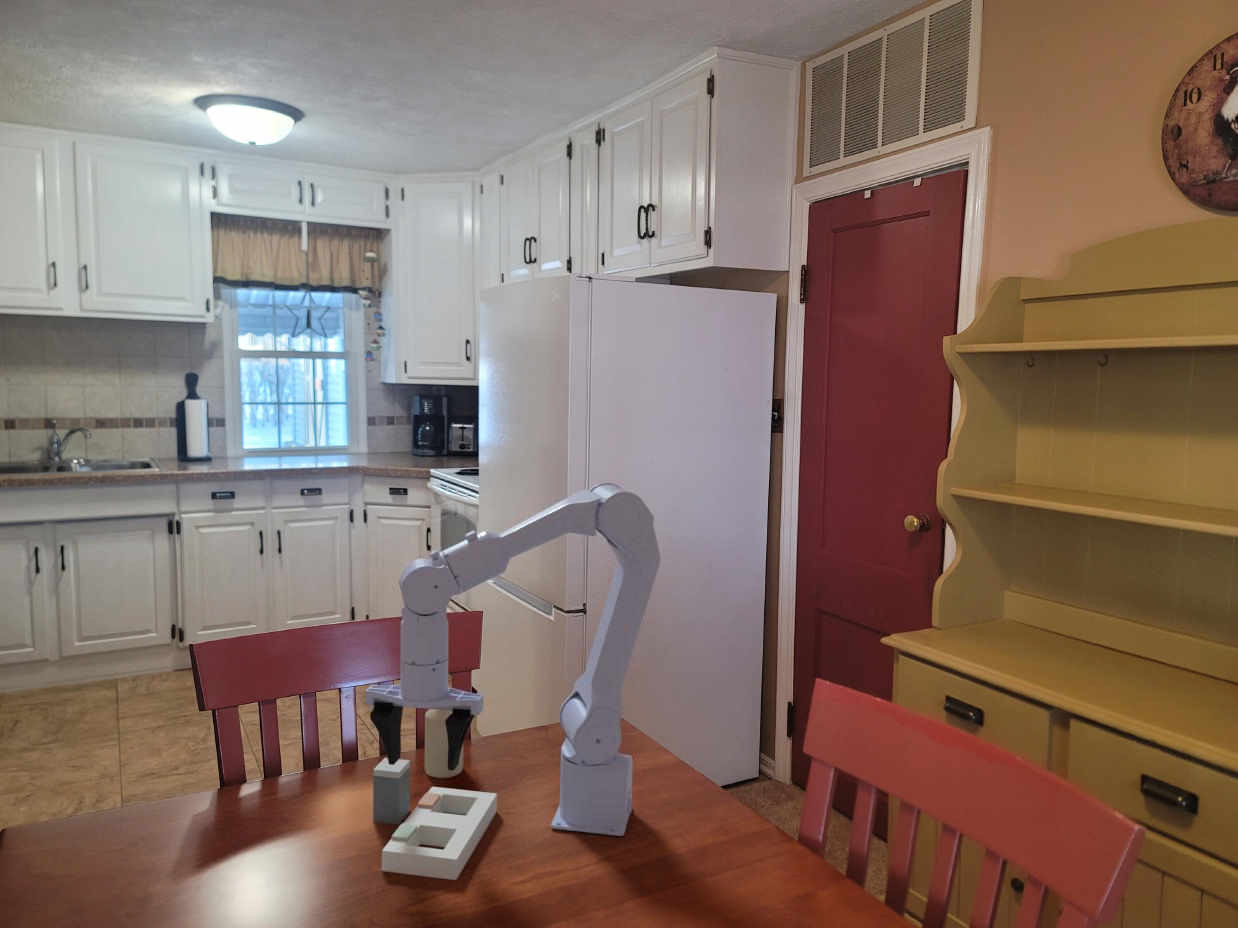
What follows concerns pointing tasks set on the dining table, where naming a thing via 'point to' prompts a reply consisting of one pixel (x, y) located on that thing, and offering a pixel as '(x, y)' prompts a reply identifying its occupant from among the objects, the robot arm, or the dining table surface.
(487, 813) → the socket strip
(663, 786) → the dining table surface
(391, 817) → the plug
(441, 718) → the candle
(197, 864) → the dining table surface
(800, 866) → the dining table surface
